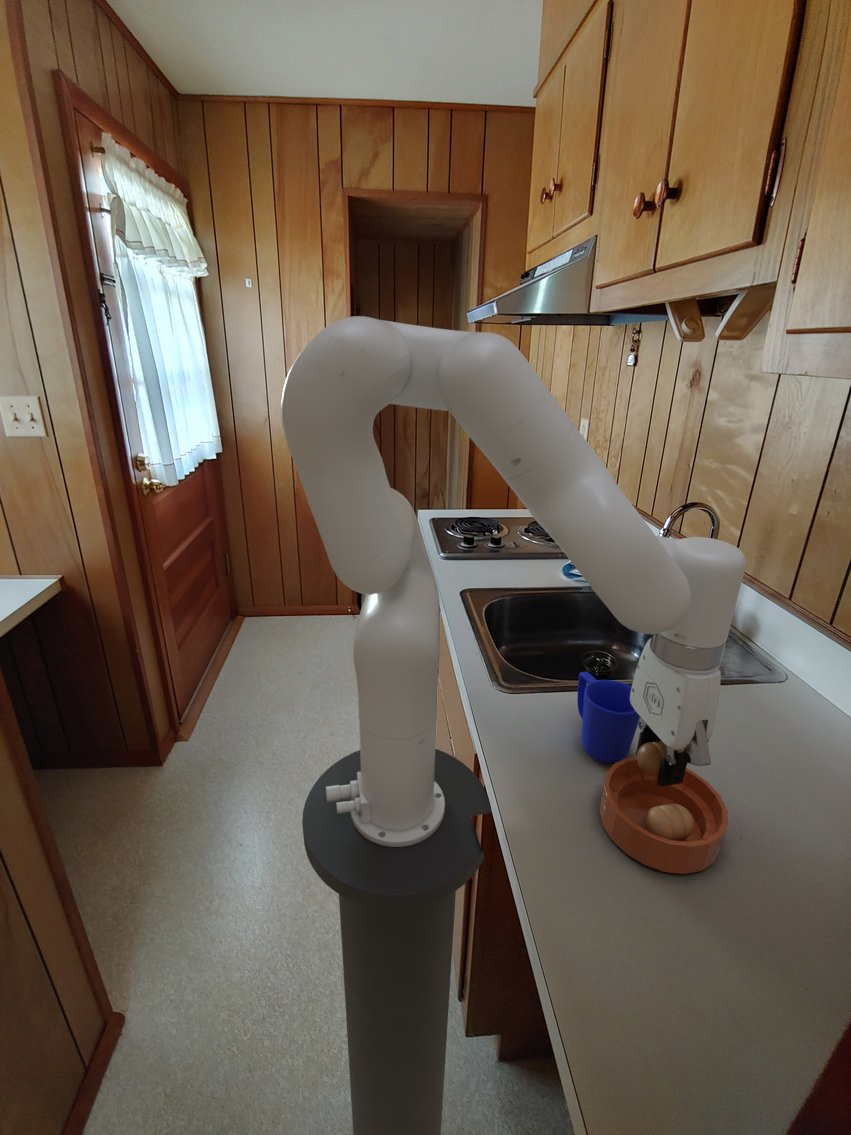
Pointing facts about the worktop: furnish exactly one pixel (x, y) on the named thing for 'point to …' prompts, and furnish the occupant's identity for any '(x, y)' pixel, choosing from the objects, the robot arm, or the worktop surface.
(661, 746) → the egg dark
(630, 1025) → the worktop surface
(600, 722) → the mug
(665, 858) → the bowl
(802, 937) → the worktop surface
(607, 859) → the worktop surface
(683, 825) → the egg light
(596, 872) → the worktop surface
